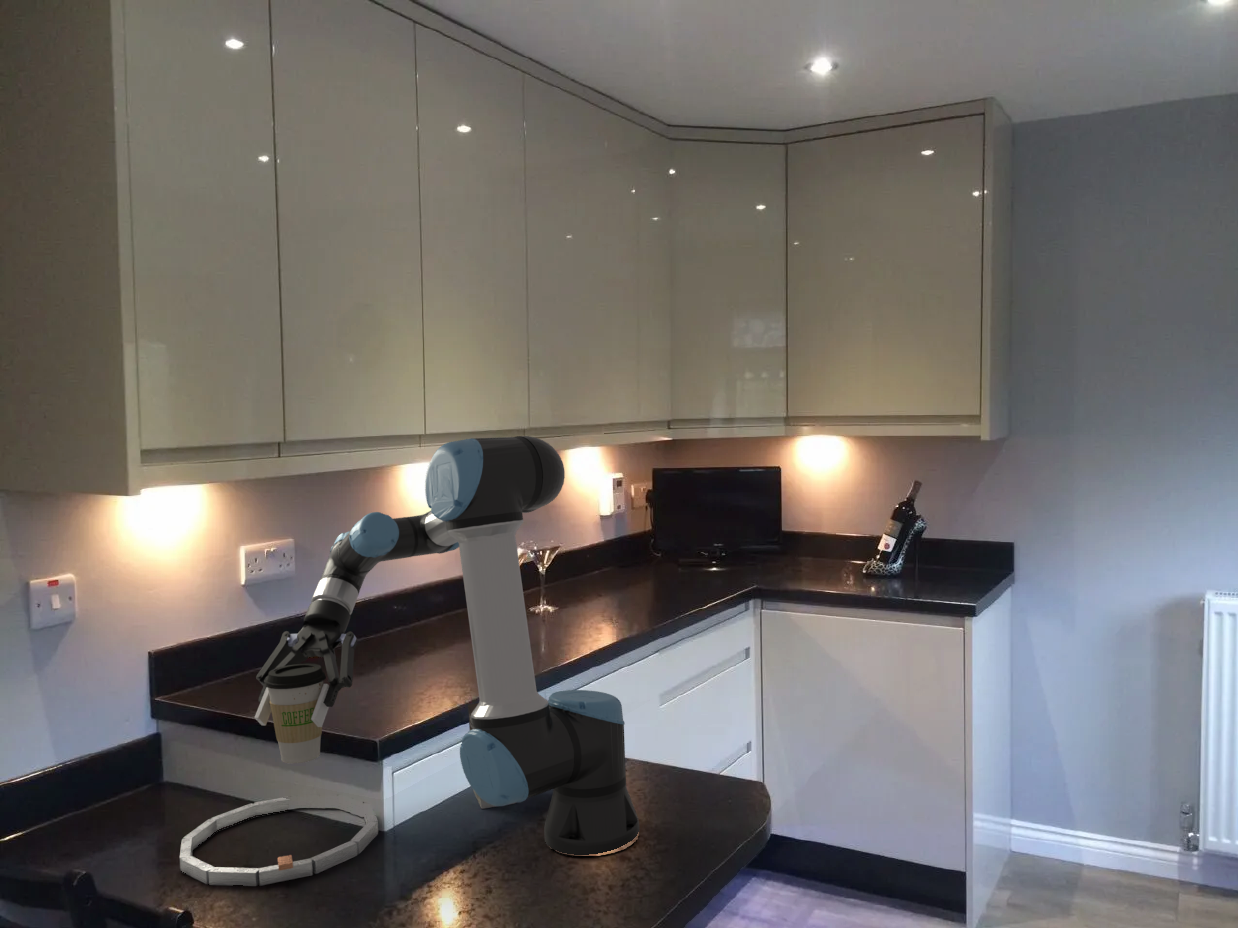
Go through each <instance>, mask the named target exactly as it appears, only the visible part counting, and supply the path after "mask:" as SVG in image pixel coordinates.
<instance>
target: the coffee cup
mask: <svg viewBox="0 0 1238 928" xmlns="http://www.w3.org/2000/svg"><path fill="white" fill-rule="evenodd" d="M325 680H327V675H326V673H325V672H324V671H323V668H322V665H320V664H317V663H300V664H294V665H287V666H283V667H279V668H275V669H273V670H271V671H270V672H269V673H268V678H267V679H266V681H265V686H266V687H267V688H268V691H269V696H270V707H271V717H272V721H273V727H274V731H275V732H274V733H275V737H276V741H277V742H278V743H277V744H278V747H279V753H280V759H281V762H282V763H285V764H290V765H291V764H292V765H295V764H303V763H309V762H311V761H314V760H316V759H317V758H319V757H320V756H321V740H322V739H321V738H322V732H323V726H322V727H317V725H316V724H315V723H314V722H313V721H312V720H311V718H312V715H313V712H314V709H315V707H316V704H317V701H318V698H319V695H320V693H321V690H322V687H323V684H324V681H325Z"/></svg>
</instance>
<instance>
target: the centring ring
mask: <svg viewBox="0 0 1238 928" xmlns="http://www.w3.org/2000/svg"><path fill="white" fill-rule="evenodd" d="M289 800H290V799H286V798H283V797H278V798H273V799H267V800H262V801H261V800H260V801H254V803H248V804H246V805H243V806H240V807H237V808H235V809H231V810H229V811H226V812H224V813H220V814H218V815H216V816H213V817H211V818H209V819H207V820H205V821H204V822H203V823H201V824H200V825H198V826H197V827H196V828H195V829H193V830H191V832H189V833H188V834H186V835H185V836H184V837H183V838H182V839H181V844H180V852H179V869H180V872H181V871H182V872H181V873H183V872H184V873H183V874H185V873H186V874H185V875H186V876H189V877H191V878H192V879H195V880H197V881H199V882H201V883H203V884H205V885H208V884H209V885H210V886H233V885H243V886H244V887H257V886H258V885H259V886H260V887H261V886H265V885H270V884H275V883H280V882H285V881H286V882H287V881H289V880H295V879H301V878H305V877H309V876H310V877H311V876H313V875H314V874H315V875H317V874H319V873H321V872H323V871H326V870H328V869H330V868H333V867H334V866H336V865H339V864H342V863H343V862H346V861H348V860H350V859H352V858H356V857H357V856H358V855H360V854H361V853H362V852H363V851H364V850H365V849H366V847H367V846H369V844H370V843H371V842H372V841H373V840H374V839H375V838H376V837H377V836H378V835H379V824H378V823H379V821H378V818H377V815H376V816H374V815H368V814H365V815H366V824H365V825H363V827H362V828H361V829H360V830H359V831H357V833H356V834H355V835H354V836H353V837H352V838H351V839H350V840H349V841H347V842H345V843H342V844H339V845H337V846H336V847H334V848H331V849H329V850H325V851H324V852H322V853H319V854H316V855H315V856H312V857H310V858H305V859H300V860H294V861H293V856H292V854H289V855H288V854H287V855H283V856H278V857H277V864H274V865H268V866H264V867H258V868H257V867H229V866H227V867H226V866H225V867H221V866H216V867H215V866H213V865H211V864H209V863H208V862H205V861H202V860H201V859H198V858H196V857H195V856H193V852H194V851H193V850H195V849H196V848H197V847H199V846H200V845H202V844H203V843H204V842H205V841H206V840H208V839H209V838H211V837H212V836H213V835H214V834H215V833H214V832H216V831H217V830H219V829H221V828H223V827H226V826H229V825H232V826H234V825H233V824H234V823H237V822H239V821H242V820H244V819H247V818H249V817H253V816H255V815H262V814H267V815H269V814H268V813H273V812H279V813H281V812H280V811H284V812H286V811H285V810H287V809H288V808H289ZM273 814H274V813H273ZM262 816H263V815H262ZM253 818H254V817H253ZM219 831H220V830H219ZM217 832H218V831H217ZM217 832H216V833H217ZM213 833H214V834H213ZM212 834H213V835H212ZM211 835H212V836H211ZM208 837H209V838H208ZM207 838H208V839H207ZM202 842H203V843H202ZM199 844H200V845H199ZM198 845H199V846H198ZM209 885H208V886H209ZM243 886H242V887H243Z"/></svg>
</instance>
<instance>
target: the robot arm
mask: <svg viewBox="0 0 1238 928" xmlns="http://www.w3.org/2000/svg"><path fill="white" fill-rule="evenodd" d="M425 474H426V475H425V480H424V483H425V484H424V491H425V492H424V493H425V500H426V503H427V506H428V508H429V509H431V510H429V511H428V512H426V513H423V514H420V515H413V516H403V517H394V518H393V517H391V516H390V515H389V514H385V513H383V512H379V511H374V512H372V511H371V512H370V513H367V514H366V515H364V516H363V517H362V518H361V519H360V520H358V521H357V522H356V523H355V524H354V525H353V526H352V528H351V530H349V531H346V532H341V533H340V534H339V535H338V536H337V537H336V539H335V541H334V543H333V545H332V546H331V548H330V550H329V555H328V558H327V561H326V563H325V566H324V568H323V571H322V573H321V575H320V579H319V581H318V583H317V585H316V588H315V590H314V592H313V595H312V597H311V600H310V604H309V605H308V609H307V610H306V613H305V616H304V617H303V625H302V628H301V629H300V630H299V631H298V633H290V632H289V631H287V630H286V631H283V633H282V634H281V638H280V641H279V643H278V645H277V646H276V647H275V649H274V650H273V651H272V653H271V654H270V656H269V657H268V658H267V659H266V662H265V663H264V664H263V666H262V668H261V669H260V670H259V671H258V673H257V674H256V676H255V678H256V680H257V681H258V682H259V683H260V684H261V686H262V689H261V692H260V694H259V697H258V699H257V701H258V703H259V705H258V707H257V710H256V712H255V715H254V716H253V717H254V718H253V719H255V720H256V721H257V722H258V723H259V725H261V726H267V723H268V721H269V718H270V716H271V714H272V712H271V707H270V696H269V691H268V688H267V687H266V686H265V681H266V679H267V678H268V673H269V672H270V671H271V670H273V669H275V668H279V667H283V666H287V665H294V664H302V663H303V662H306V661H307V660H308V659H309V658H315V657H320V658H323V660H324V665H325V669H326V674H327V675H326V676H327V679H326V680H327V682H328V683H323V687H322V690H321V693H320V695H319V698H318V701H317V704H316V707H315V709H314V712H313V715H312V718H311V720H312V721H313V722H314V723H315V724H316V725H317V727H322V728H323V725H324V722H325V720H326V717H327V714H328V711H329V708H333V706H334V705H335V702H336V701H337V700H336V699H337V696H338V694H339V691H341V689H344V688H347V689H349V688H351V687H352V686H353V678H354V677H353V676H354V664H355V663H354V660H355V659H354V658H355V650H356V647H357V645H358V642H359V639H358V638H357V637H356V635H355V634H354V633H353V631H347V632H346V630H347V628H348V625H349V623H350V621H351V620H350V619H351V615H352V614H353V610H354V608H355V605H356V602H357V601H358V597H359V594H360V591H361V588H362V586H363V583H364V581H365V579H366V577H367V575H368V574H369V573H370V571H372V570H373V569H374V568H375V567H376V566H377V564H378V563H381V562H386V561H387V562H388V561H393V560H394V561H395V560H401V559H407V558H413V557H418V556H419V557H420V556H426V555H435V554H440V555H441V554H445V553H447V552H451V551H455V550H457V549H459V556H460V562H461V572H462V578H463V579H462V580H463V585H464V592H465V601H466V608H467V616H468V624H469V632H470V638H471V639H470V640H471V645H472V653H473V660H474V661H473V663H474V667H475V675H476V682H477V691H478V698H479V701H478V703H479V704H478V705H477V707H476V708H475V709H474V711H473V712H472V713H471V717H472V725H473V729H472V730H470V729H469V730H468V731H467V733H465V734H464V735H463V736H462V738H461V743H460V744H459V745H460V746H459V758H460V764H461V768H462V771H463V773H464V775H465V778H466V780H467V782H468V784H469V785H470V787H471V789H472V790H473V789H474V791H475V792H476V794H477V795H478V796H479V797H480V798H481V799H482V800H484V801H485V802H487V803H488V804H491V805H493V806H497V807H505V806H508V804H509V805H512V804H511V803H515V802H516V803H523V802H524V801H526V800H527V799H529V798H533V797H535V796H538V795H540V794H544V793H546V792H549V791H551V790H553V791H552V796H551V801H550V803H549V807H548V811H547V816H546V818H545V822H544V828H543V829H544V831H543V832H544V843H545V842H546V843H545V845H546V844H547V845H548V846H550V847H551V848H552V849H554V850H557V851H559V852H562V853H567V854H574V855H589V854H598V853H603V852H607V851H611V850H614V849H617V848H619V847H621V846H623V845H625V844H627V843H628V842H630V841H632V840H633V839H634V838H635V837H636V836H637V834H638V832H639V831H640V820H639V816H638V815H637V812H636V808H635V806H634V804H633V801H632V798H631V796H630V793H629V791H628V787H627V773H626V771H627V770H626V750H625V749H626V747H625V746H626V745H625V744H626V743H625V725H626V724H625V721H624V716H623V715H624V714H623V706H622V702H621V701H620V700H619V699H618V697H616V696H615V695H612V694H610V693H607V692H603V691H596V690H588V689H587V690H586V689H583V690H582V689H568V690H567V689H566V690H560V691H554V692H552V693H551V694H550V695H549V697H548V700H547V699H546V698H544V697H543V696H542V695H541V694H539V692H538V690H537V686H536V685H537V684H536V677H535V670H534V669H535V668H534V662H533V655H532V648H531V640H530V634H529V633H530V632H529V625H528V617H527V610H526V604H525V596H524V590H523V589H524V588H523V583H522V575H521V567H520V560H519V559H520V558H519V553H518V544H517V538H516V534H517V531H518V530H519V529H520V527H521V526H522V525H523V524H524V517H523V514H527V513H532V512H534V511H536V510H538V509H540V508H543V507H545V506H548V505H549V504H551V502H553V501H554V500H555V499H557V497H558V496H559V494H560V493H561V491H562V489H563V486H564V484H565V478H566V477H565V476H566V473H565V467H564V462H563V460H562V458H561V456H560V454H559V453H558V452H557V450H556V449H555V447H553V446H552V445H551V444H550V443H548V442H547V441H545V440H543V439H540V438H539V437H534V436H530V435H521V436H520V435H519V436H518V435H517V436H507V437H502V436H501V437H500V436H499V437H479V438H477V437H476V438H473V437H472V438H465V439H460V440H453V441H449V442H446V443H444V444H443V445H441V446H439V448H437V449H436V450H435V452H434V453H433V455H432V457H431V460H430V461H429V463H428V465H427V468H426V473H425ZM340 644H341V655H340V656H341V657H340V658H341V659H340V671H339V669H338V664H337V661H336V660H337V657H336V652H335V649H336V648H337V647H338V646H339V645H340ZM301 651H302V652H301ZM474 791H473V792H474ZM516 803H515V804H516ZM547 845H546V846H547ZM548 846H547V847H548Z"/></svg>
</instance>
